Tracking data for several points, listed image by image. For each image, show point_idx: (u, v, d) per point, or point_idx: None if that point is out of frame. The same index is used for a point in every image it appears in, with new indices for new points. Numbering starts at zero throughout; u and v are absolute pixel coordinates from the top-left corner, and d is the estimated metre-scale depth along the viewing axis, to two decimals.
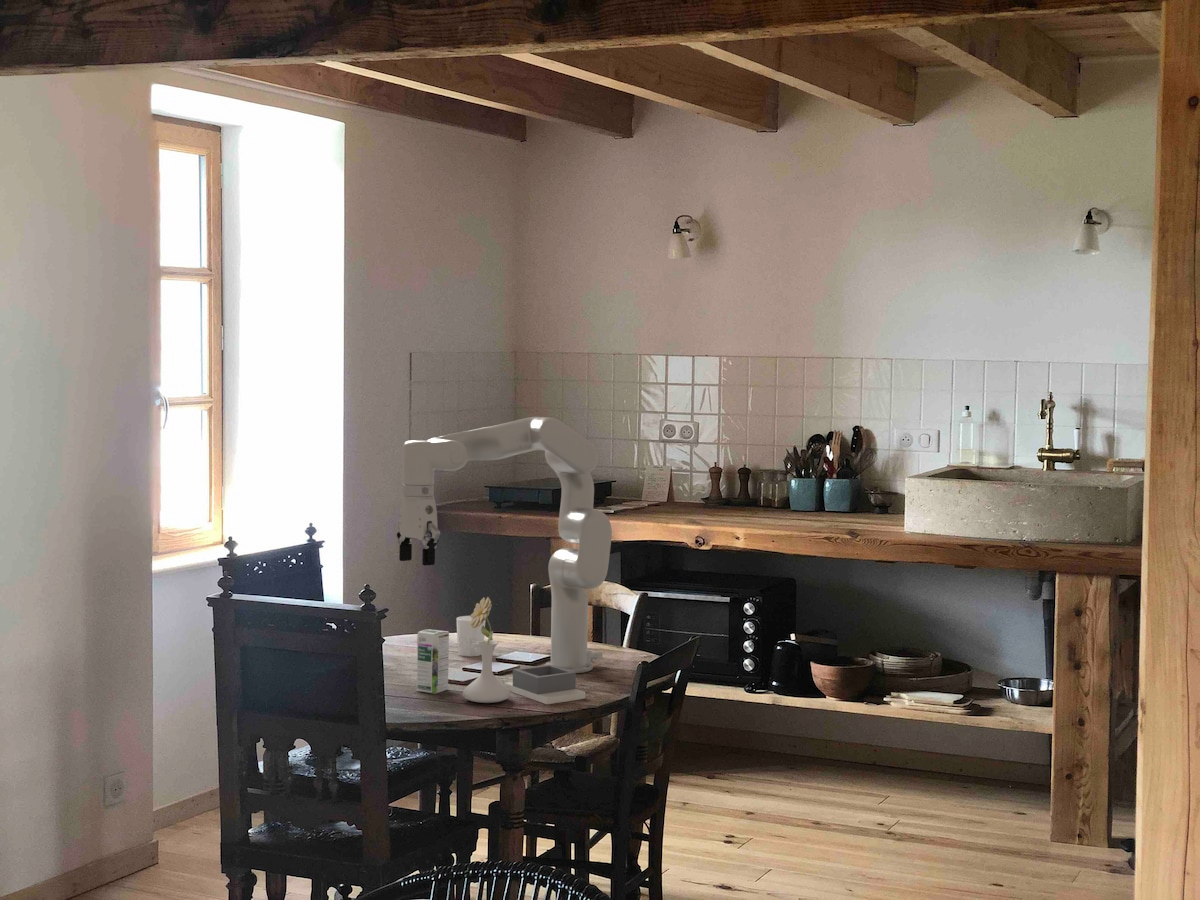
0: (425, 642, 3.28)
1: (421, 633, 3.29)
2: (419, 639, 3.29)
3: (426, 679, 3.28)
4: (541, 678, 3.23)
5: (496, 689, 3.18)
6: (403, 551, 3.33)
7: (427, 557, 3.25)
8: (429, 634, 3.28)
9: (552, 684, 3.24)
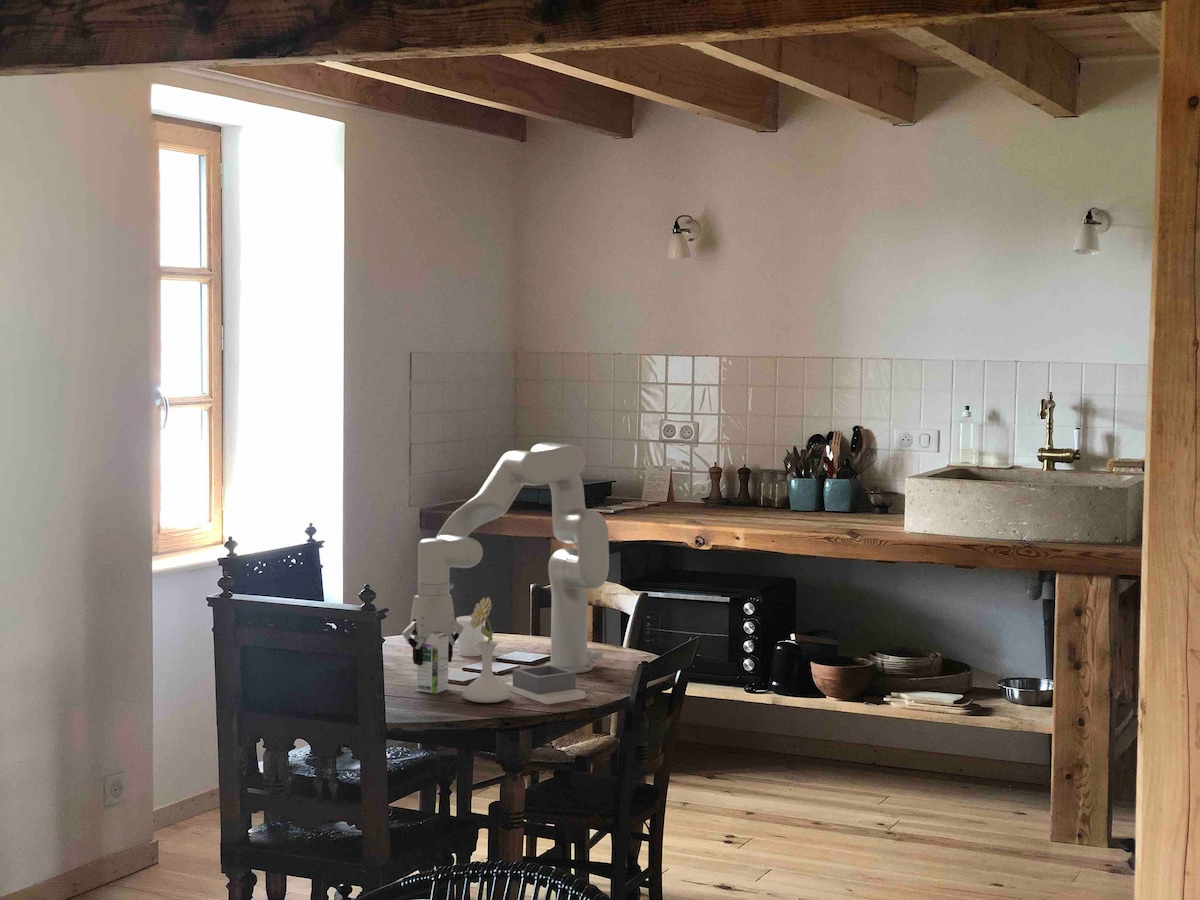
0: (425, 642, 3.28)
1: None
2: None
3: (426, 679, 3.28)
4: (541, 678, 3.23)
5: (496, 689, 3.18)
6: None
7: None
8: None
9: (552, 684, 3.24)
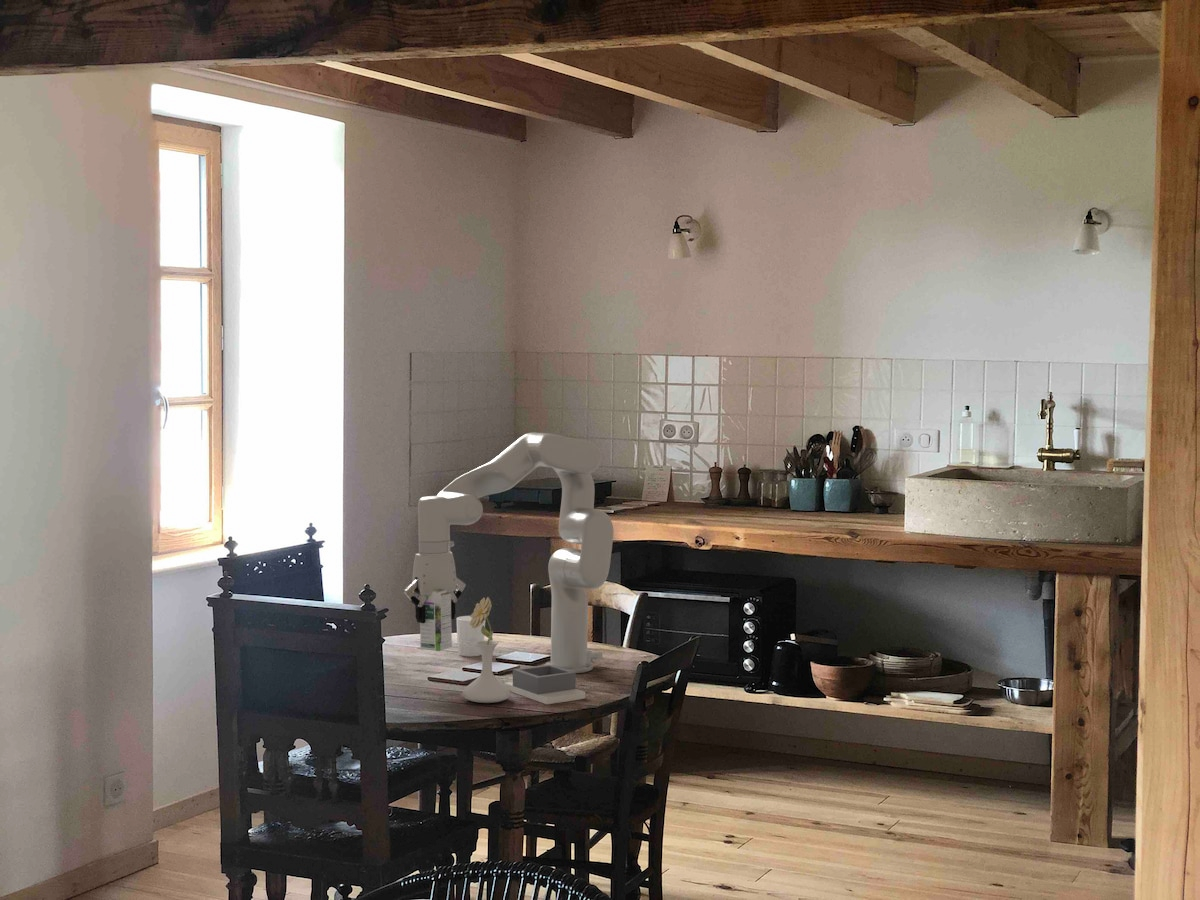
0: (428, 600, 3.28)
1: None
2: None
3: (430, 637, 3.28)
4: (541, 678, 3.23)
5: (496, 689, 3.18)
6: None
7: None
8: None
9: (552, 684, 3.24)
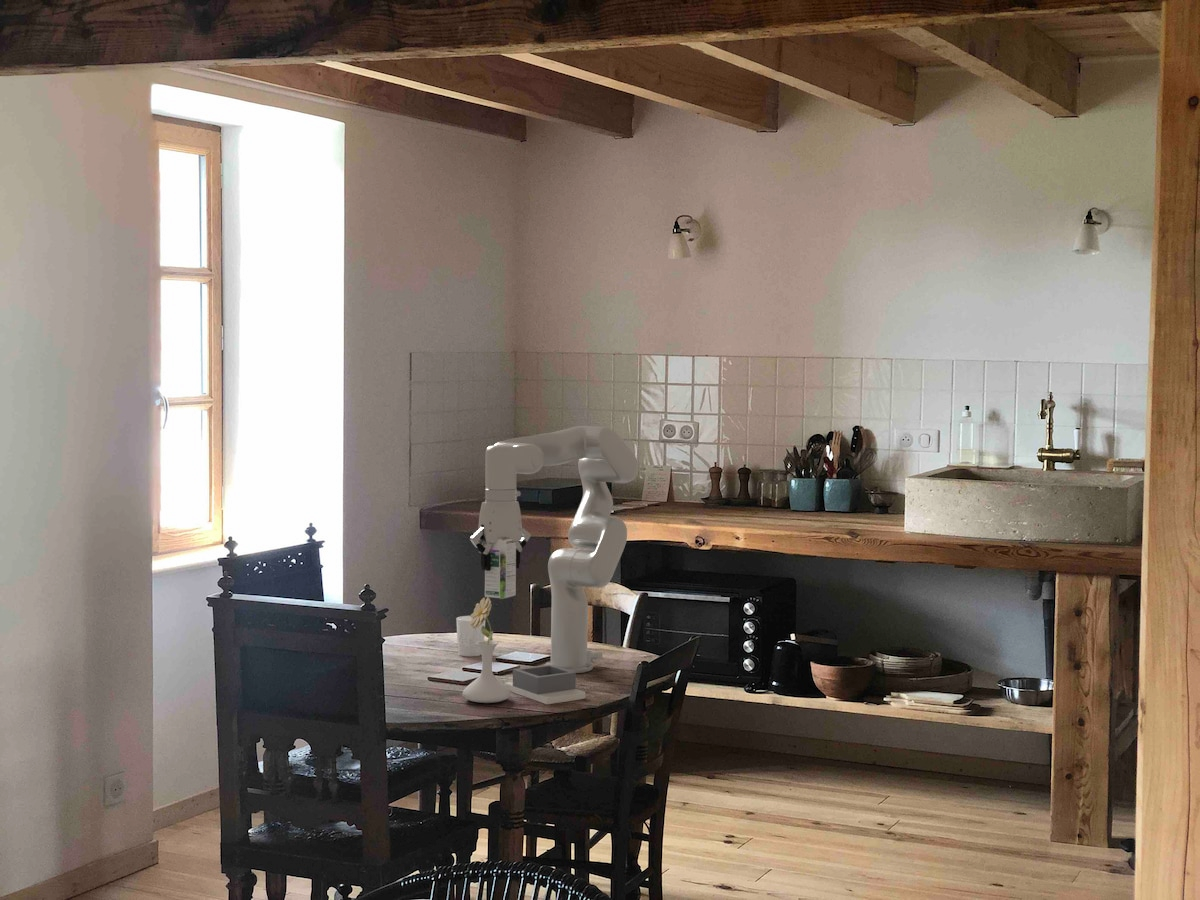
0: (493, 548, 3.30)
1: None
2: None
3: (494, 584, 3.30)
4: (541, 678, 3.23)
5: (496, 689, 3.18)
6: None
7: (518, 560, 3.35)
8: None
9: (552, 684, 3.24)
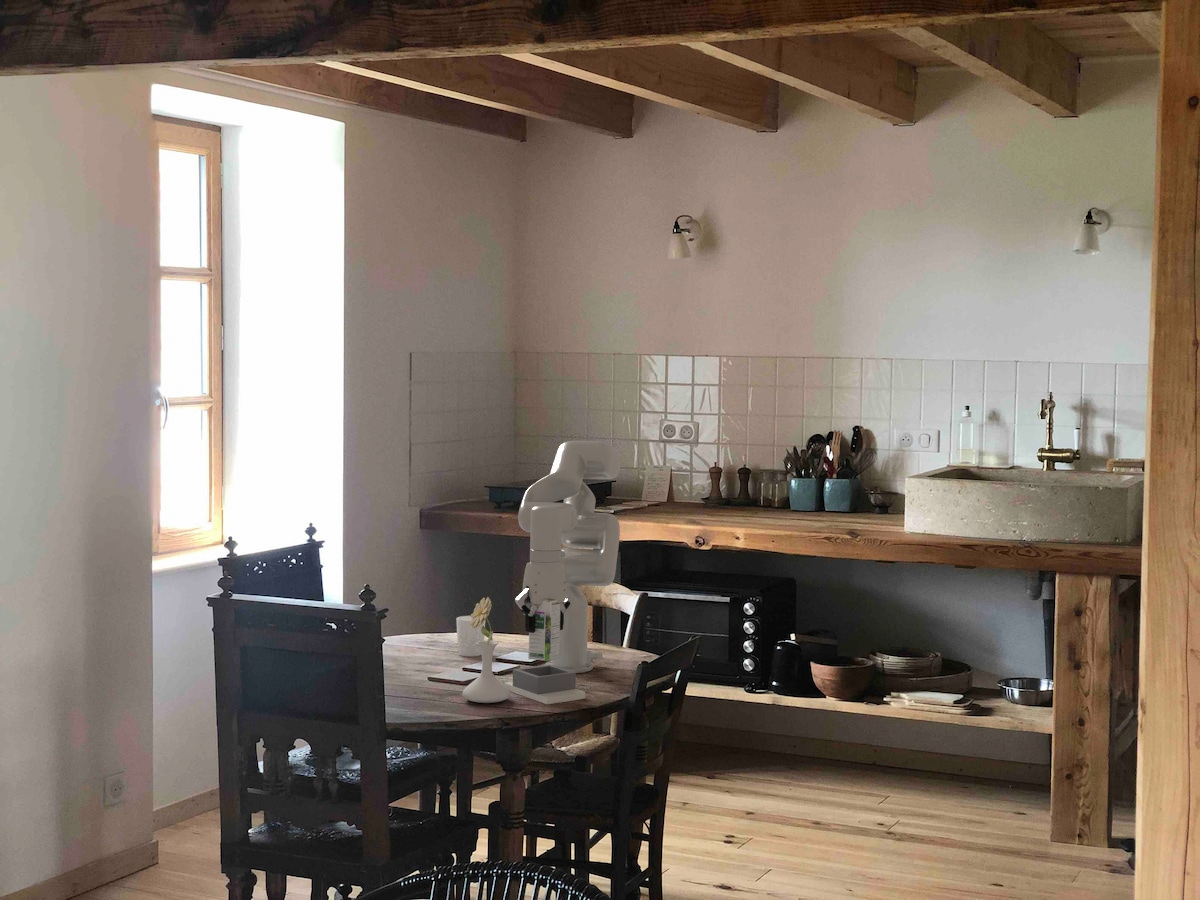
0: (538, 609, 3.26)
1: None
2: None
3: (539, 647, 3.26)
4: (541, 678, 3.23)
5: (496, 689, 3.18)
6: None
7: None
8: None
9: (552, 684, 3.24)
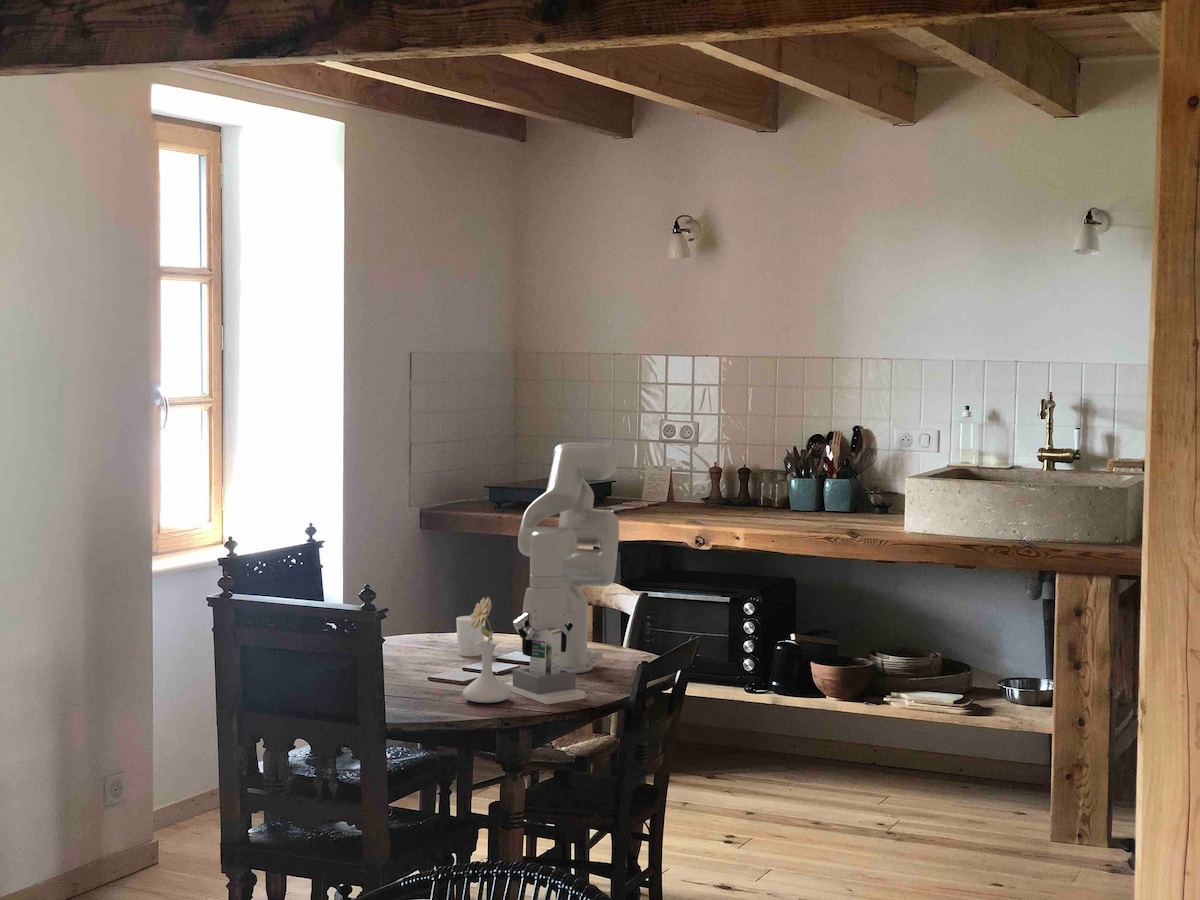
0: (539, 639, 3.27)
1: None
2: (532, 635, 3.28)
3: None
4: (541, 678, 3.23)
5: (496, 689, 3.18)
6: None
7: None
8: (542, 630, 3.27)
9: (552, 684, 3.24)
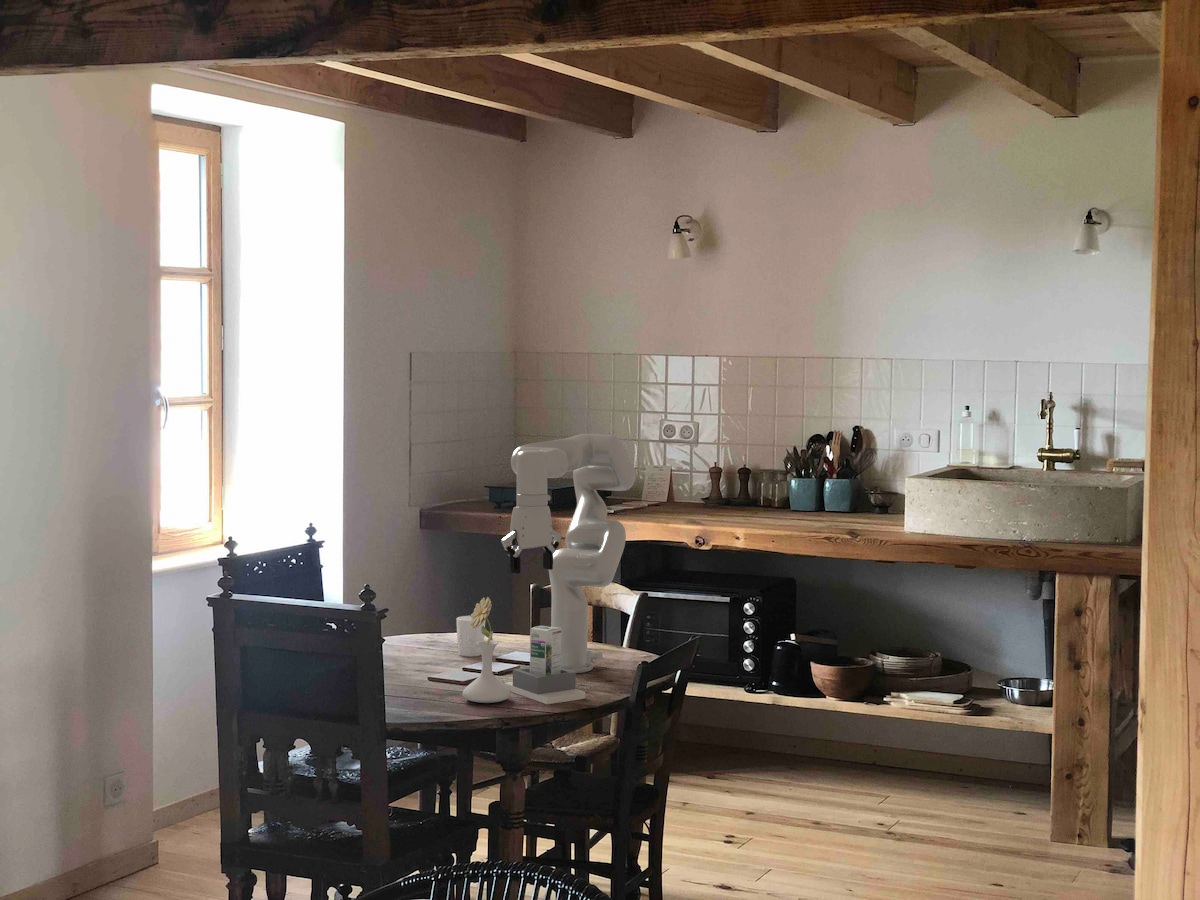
0: (539, 639, 3.27)
1: (534, 629, 3.28)
2: (532, 635, 3.28)
3: None
4: (541, 678, 3.23)
5: (496, 689, 3.18)
6: None
7: None
8: (542, 630, 3.27)
9: (552, 684, 3.24)
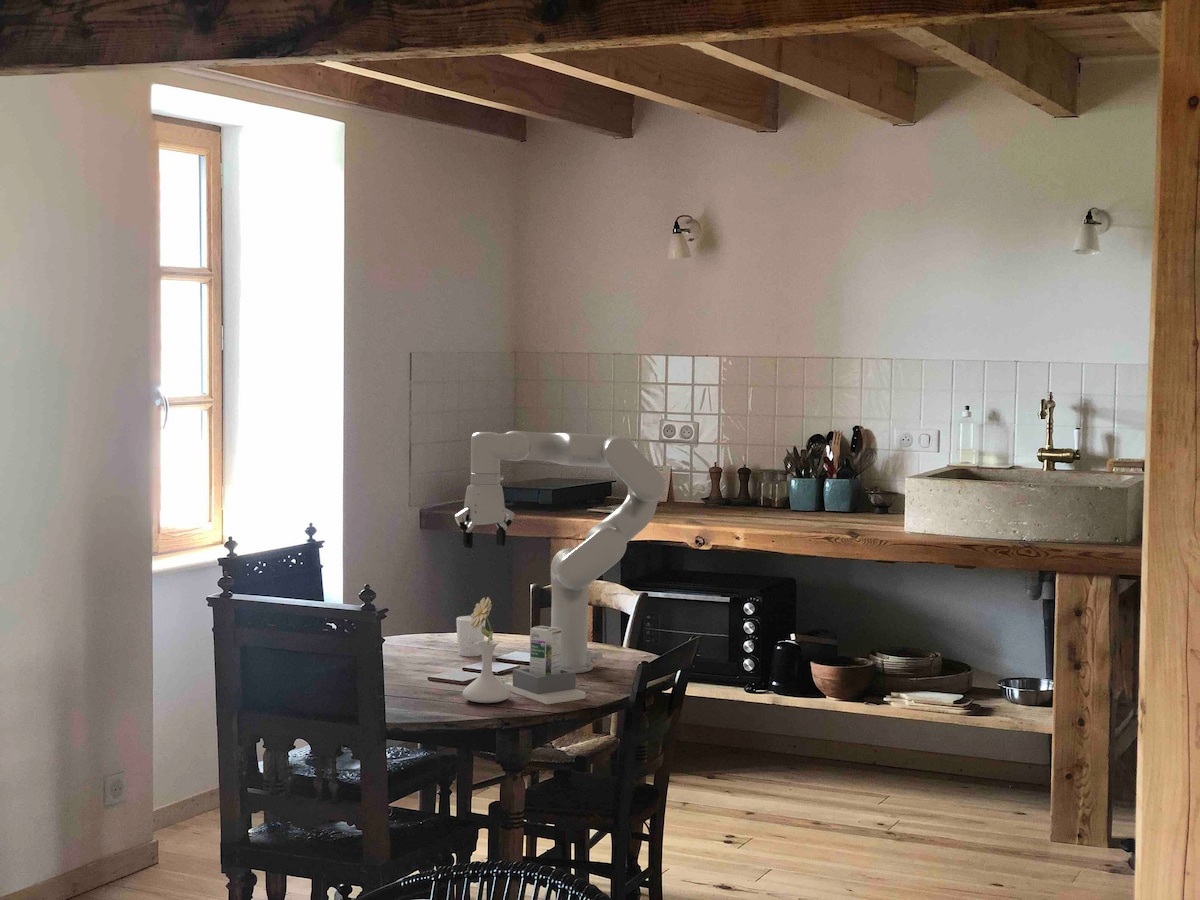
0: (539, 639, 3.27)
1: (534, 629, 3.28)
2: (532, 635, 3.28)
3: None
4: (541, 678, 3.23)
5: (496, 689, 3.18)
6: None
7: None
8: (542, 630, 3.27)
9: (552, 684, 3.24)
